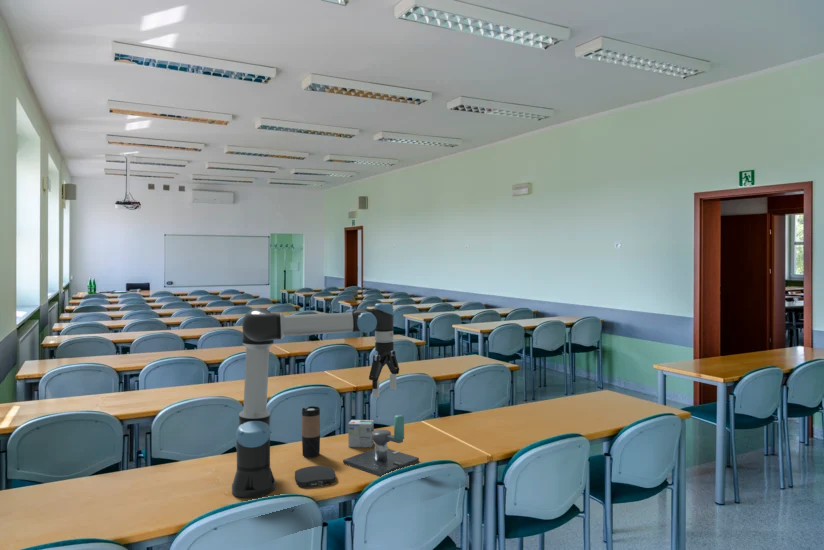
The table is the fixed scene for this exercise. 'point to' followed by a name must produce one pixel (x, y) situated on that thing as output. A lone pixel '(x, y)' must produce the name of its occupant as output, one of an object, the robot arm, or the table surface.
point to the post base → (380, 465)
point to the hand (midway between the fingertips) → (384, 393)
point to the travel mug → (311, 431)
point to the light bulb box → (360, 433)
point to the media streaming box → (315, 476)
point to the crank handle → (386, 436)
